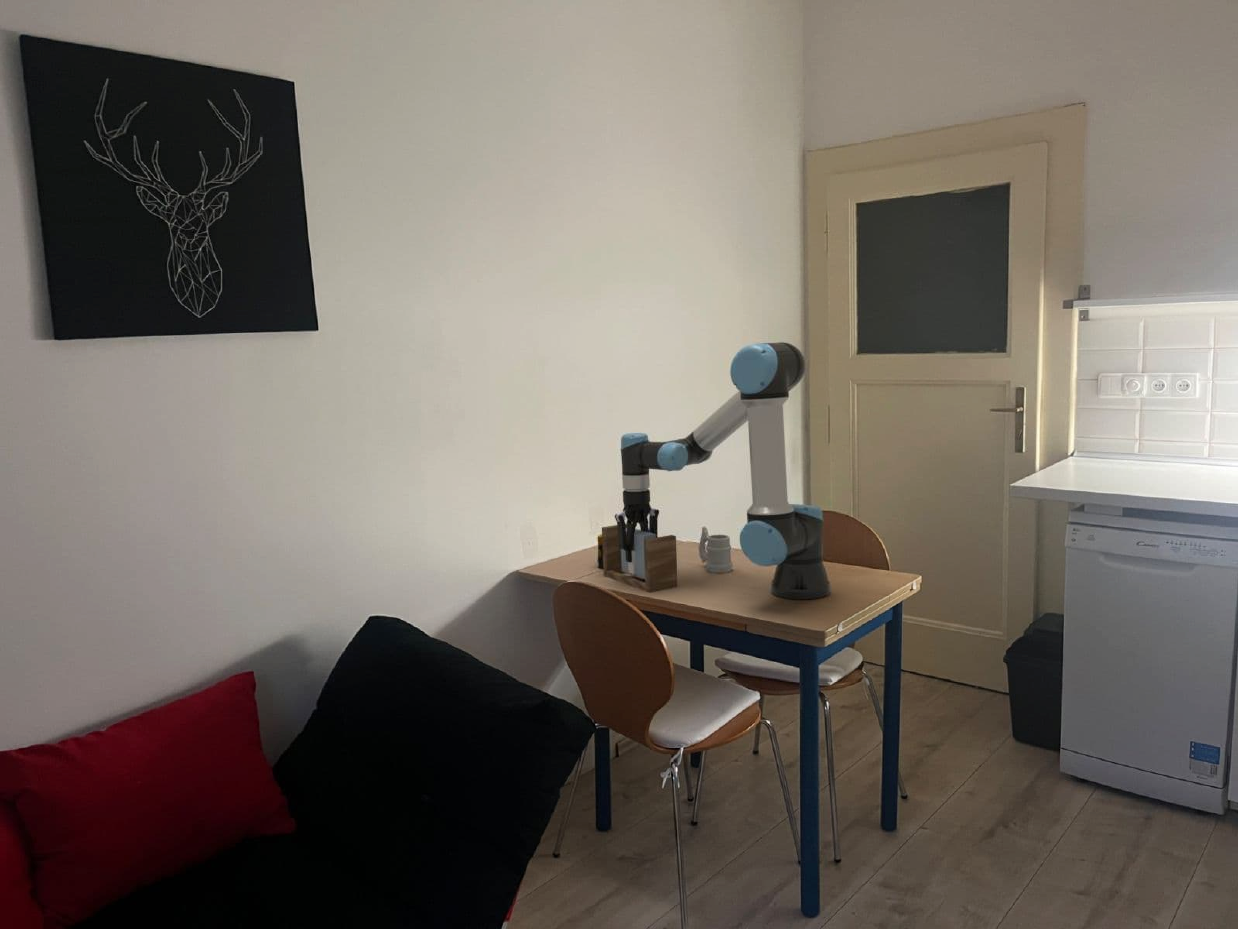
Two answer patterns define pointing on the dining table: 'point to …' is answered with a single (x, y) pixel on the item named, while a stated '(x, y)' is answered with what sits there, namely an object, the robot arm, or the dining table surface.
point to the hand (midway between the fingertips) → (639, 571)
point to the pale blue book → (637, 553)
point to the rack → (656, 561)
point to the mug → (715, 552)
